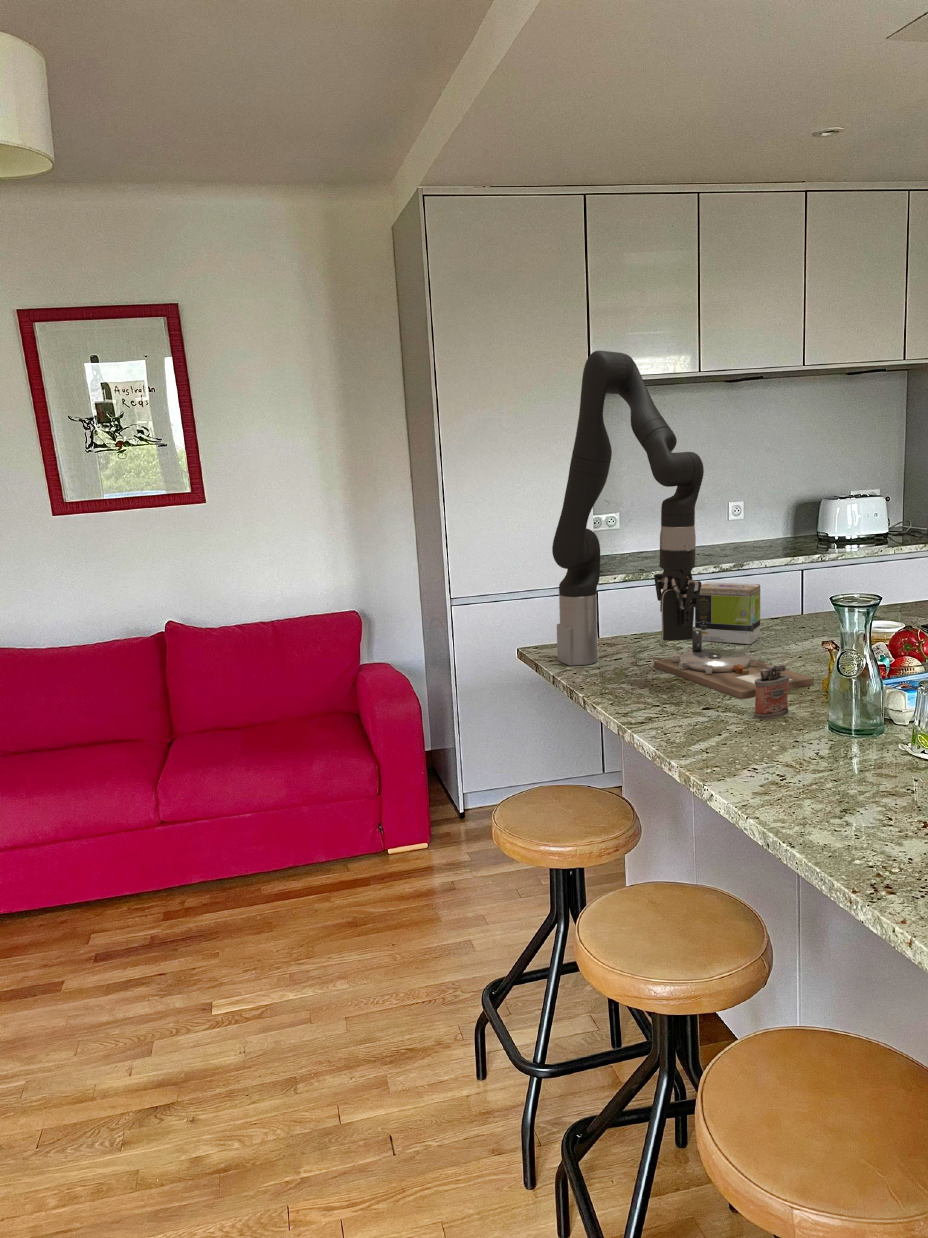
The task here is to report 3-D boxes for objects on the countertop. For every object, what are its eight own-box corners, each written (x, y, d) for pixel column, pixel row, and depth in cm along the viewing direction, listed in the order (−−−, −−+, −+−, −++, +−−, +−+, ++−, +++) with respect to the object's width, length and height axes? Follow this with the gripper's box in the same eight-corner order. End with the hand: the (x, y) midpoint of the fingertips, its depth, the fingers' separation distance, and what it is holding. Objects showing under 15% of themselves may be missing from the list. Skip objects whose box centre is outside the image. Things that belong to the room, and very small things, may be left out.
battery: (689, 636, 201) (690, 586, 199) (694, 640, 198) (695, 589, 195) (658, 637, 201) (658, 587, 198) (662, 642, 197) (663, 590, 195)
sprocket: (706, 678, 201) (706, 650, 200) (656, 660, 219) (656, 633, 217) (775, 666, 208) (775, 639, 207) (722, 649, 226) (722, 624, 224)
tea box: (760, 637, 244) (761, 583, 240) (750, 645, 235) (751, 589, 232) (705, 633, 252) (706, 580, 248) (693, 640, 243) (694, 586, 240)
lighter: (762, 720, 177) (763, 671, 175) (749, 716, 180) (750, 667, 178) (792, 713, 181) (793, 664, 179) (779, 708, 184) (780, 661, 182)
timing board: (741, 699, 191) (741, 687, 190) (654, 667, 219) (654, 657, 218) (813, 684, 199) (814, 673, 198) (720, 655, 227) (720, 645, 226)
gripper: (643, 544, 200) (643, 619, 203) (683, 551, 187) (682, 632, 190) (671, 541, 203) (670, 616, 206) (713, 548, 190) (711, 627, 193)
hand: (676, 623), depth 198 cm, fingers closed on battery, 4 cm apart
